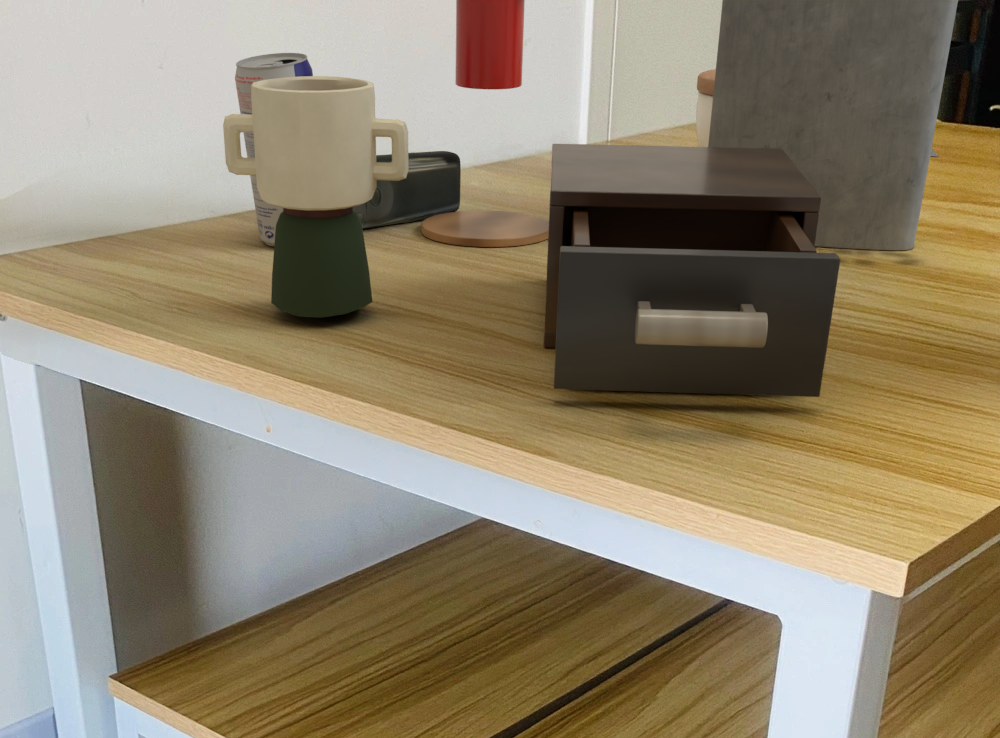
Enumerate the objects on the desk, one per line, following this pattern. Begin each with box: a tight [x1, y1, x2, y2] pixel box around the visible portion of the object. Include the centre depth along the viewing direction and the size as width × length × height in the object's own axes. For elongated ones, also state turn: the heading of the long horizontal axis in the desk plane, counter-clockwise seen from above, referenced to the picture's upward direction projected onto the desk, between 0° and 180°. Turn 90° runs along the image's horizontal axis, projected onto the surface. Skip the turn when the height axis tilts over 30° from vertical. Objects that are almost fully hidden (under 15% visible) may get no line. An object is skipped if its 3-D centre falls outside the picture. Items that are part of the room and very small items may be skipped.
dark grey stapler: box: [353, 150, 462, 230], centre depth 105 cm, size 5×3×15 cm
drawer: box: [553, 206, 841, 398], centre depth 72 cm, size 19×13×7 cm
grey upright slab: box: [708, 0, 959, 251], centre depth 98 cm, size 16×4×20 cm, turn 72°
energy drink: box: [234, 52, 314, 248], centre depth 97 cm, size 5×5×12 cm
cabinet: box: [543, 143, 821, 349], centre depth 83 cm, size 16×15×9 cm
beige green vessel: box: [222, 75, 409, 319], centre depth 81 cm, size 11×7×13 cm, turn 82°
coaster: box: [420, 210, 549, 248], centre depth 104 cm, size 10×10×1 cm
